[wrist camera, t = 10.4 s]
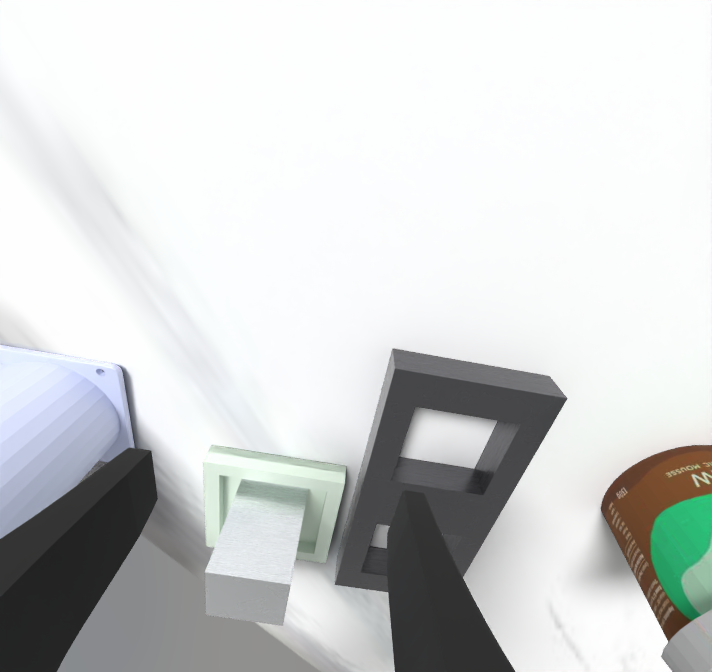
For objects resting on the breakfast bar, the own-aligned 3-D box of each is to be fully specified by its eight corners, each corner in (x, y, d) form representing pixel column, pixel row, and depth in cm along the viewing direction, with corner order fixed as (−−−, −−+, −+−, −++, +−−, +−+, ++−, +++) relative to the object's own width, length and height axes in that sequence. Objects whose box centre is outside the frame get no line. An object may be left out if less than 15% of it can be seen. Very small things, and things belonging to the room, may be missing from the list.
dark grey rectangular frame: (337, 557, 28) (334, 584, 27) (392, 348, 19) (394, 368, 17) (444, 573, 29) (449, 600, 27) (549, 376, 19) (567, 398, 18)
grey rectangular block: (240, 518, 25) (205, 615, 20) (242, 477, 23) (204, 572, 18) (300, 528, 26) (282, 625, 20) (308, 487, 24) (290, 584, 18)
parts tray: (213, 528, 27) (206, 546, 26) (212, 444, 23) (202, 461, 22) (327, 545, 28) (325, 563, 26) (346, 466, 23) (344, 483, 22)
